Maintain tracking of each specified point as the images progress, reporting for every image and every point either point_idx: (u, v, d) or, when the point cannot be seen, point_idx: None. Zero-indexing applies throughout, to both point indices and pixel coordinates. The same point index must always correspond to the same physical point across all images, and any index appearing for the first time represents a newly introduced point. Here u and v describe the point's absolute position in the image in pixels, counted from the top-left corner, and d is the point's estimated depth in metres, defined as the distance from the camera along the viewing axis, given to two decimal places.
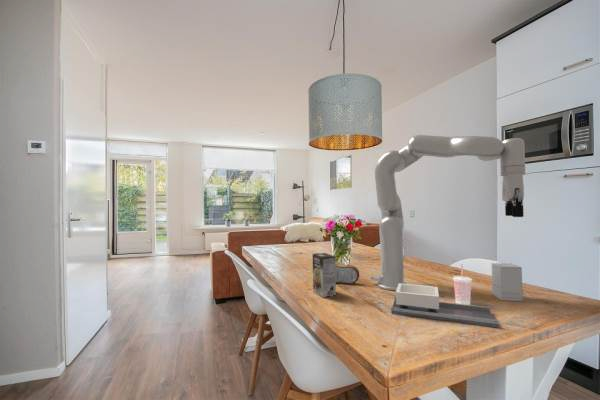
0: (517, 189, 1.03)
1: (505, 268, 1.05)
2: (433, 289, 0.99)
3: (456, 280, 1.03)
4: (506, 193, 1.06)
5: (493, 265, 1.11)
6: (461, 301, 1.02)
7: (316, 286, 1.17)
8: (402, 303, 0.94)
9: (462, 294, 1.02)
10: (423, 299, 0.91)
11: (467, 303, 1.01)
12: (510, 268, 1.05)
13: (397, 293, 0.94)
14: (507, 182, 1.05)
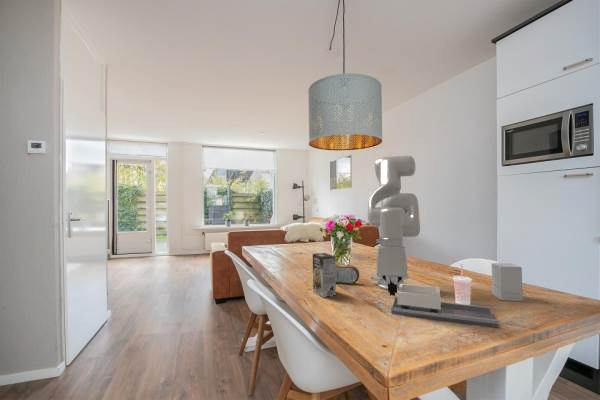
0: None
1: (505, 268, 1.05)
2: (434, 289, 0.99)
3: (456, 280, 1.03)
4: (399, 268, 0.97)
5: (493, 265, 1.11)
6: (461, 301, 1.02)
7: (316, 286, 1.17)
8: (404, 303, 0.94)
9: (462, 294, 1.02)
10: (425, 299, 0.91)
11: (467, 303, 1.01)
12: (510, 268, 1.05)
13: (399, 293, 0.94)
14: (401, 256, 0.97)
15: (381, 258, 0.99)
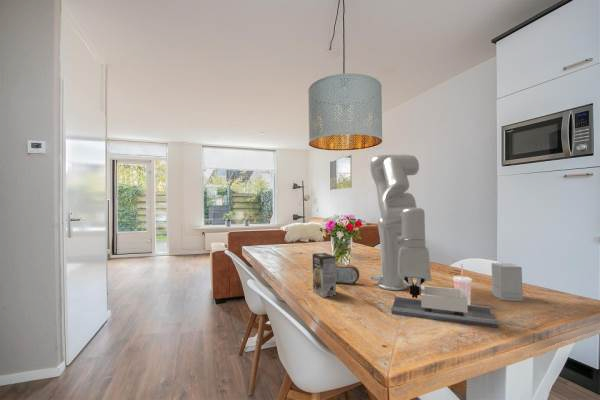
0: None
1: (505, 268, 1.05)
2: (458, 291, 0.96)
3: (456, 280, 1.03)
4: (422, 270, 0.94)
5: (493, 265, 1.11)
6: None
7: (316, 286, 1.17)
8: (428, 306, 0.91)
9: None
10: (451, 302, 0.88)
11: (467, 303, 1.01)
12: (510, 268, 1.05)
13: (422, 296, 0.91)
14: (424, 257, 0.94)
15: (403, 259, 0.96)
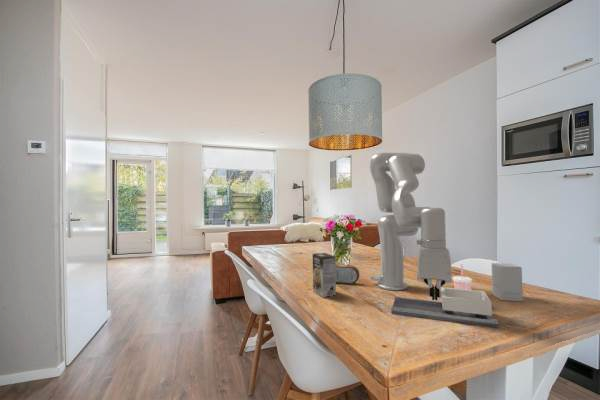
0: None
1: (505, 268, 1.05)
2: (480, 294, 0.93)
3: (456, 280, 1.03)
4: (443, 271, 0.91)
5: (493, 265, 1.11)
6: None
7: (316, 286, 1.17)
8: (450, 309, 0.88)
9: None
10: (474, 304, 0.85)
11: None
12: (510, 268, 1.05)
13: (444, 298, 0.89)
14: (445, 258, 0.91)
15: (423, 260, 0.94)
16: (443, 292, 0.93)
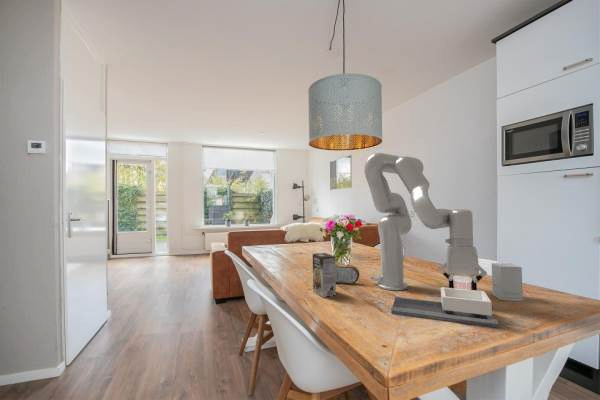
0: None
1: (505, 268, 1.05)
2: (480, 294, 0.93)
3: (456, 280, 1.03)
4: (471, 267, 1.00)
5: (493, 265, 1.11)
6: None
7: (316, 286, 1.17)
8: (450, 309, 0.88)
9: None
10: (474, 304, 0.85)
11: None
12: (510, 268, 1.05)
13: (444, 298, 0.89)
14: (473, 255, 1.00)
15: (452, 258, 1.03)
16: (443, 292, 0.93)
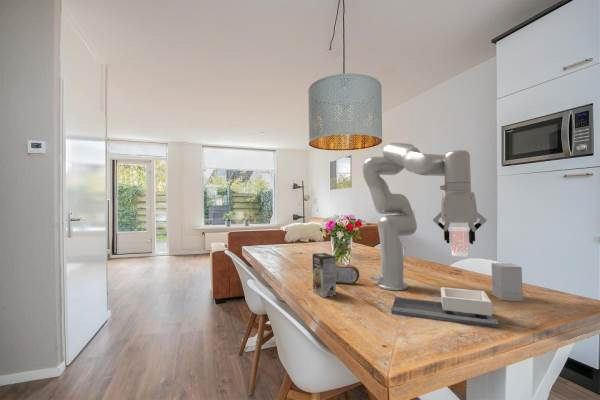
0: (476, 211, 0.91)
1: (505, 268, 1.05)
2: (480, 294, 0.93)
3: (452, 229, 0.92)
4: (469, 214, 0.89)
5: (493, 265, 1.11)
6: (458, 252, 0.91)
7: (316, 286, 1.17)
8: (450, 309, 0.88)
9: (459, 245, 0.91)
10: (474, 304, 0.85)
11: (465, 254, 0.90)
12: (510, 268, 1.05)
13: (444, 298, 0.89)
14: (471, 200, 0.89)
15: (448, 204, 0.92)
16: (443, 292, 0.93)
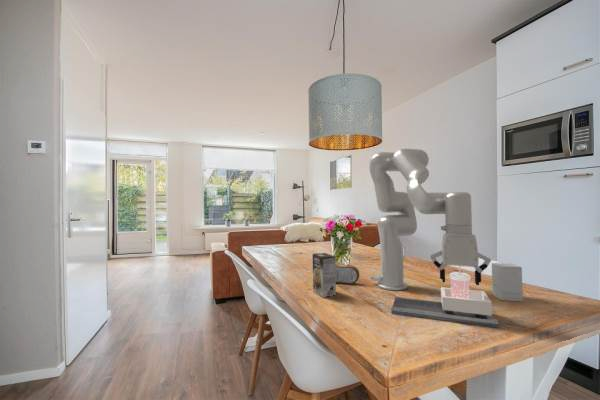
0: None
1: (505, 268, 1.05)
2: (480, 294, 0.93)
3: (453, 278, 0.90)
4: (470, 257, 0.88)
5: (493, 265, 1.11)
6: None
7: (316, 286, 1.17)
8: (450, 309, 0.88)
9: (459, 294, 0.89)
10: (474, 304, 0.85)
11: None
12: (510, 268, 1.05)
13: (444, 298, 0.89)
14: (472, 244, 0.88)
15: (448, 247, 0.91)
16: (443, 292, 0.93)
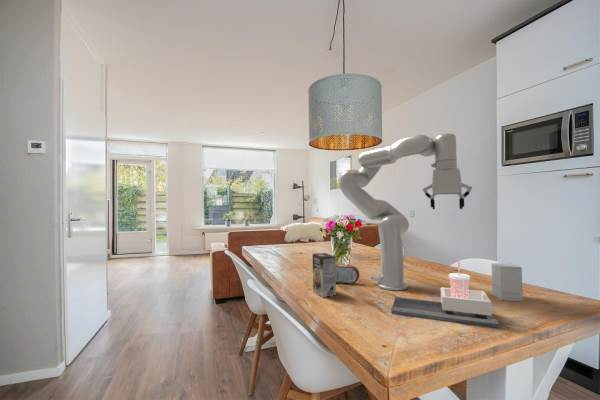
0: (461, 183, 1.09)
1: (505, 268, 1.05)
2: (480, 293, 0.93)
3: (452, 277, 0.91)
4: (454, 186, 1.08)
5: (493, 265, 1.11)
6: None
7: (316, 286, 1.17)
8: (449, 309, 0.88)
9: (459, 293, 0.90)
10: (473, 304, 0.85)
11: None
12: (510, 268, 1.05)
13: (444, 298, 0.89)
14: (456, 175, 1.08)
15: (437, 179, 1.10)
16: (443, 292, 0.93)
